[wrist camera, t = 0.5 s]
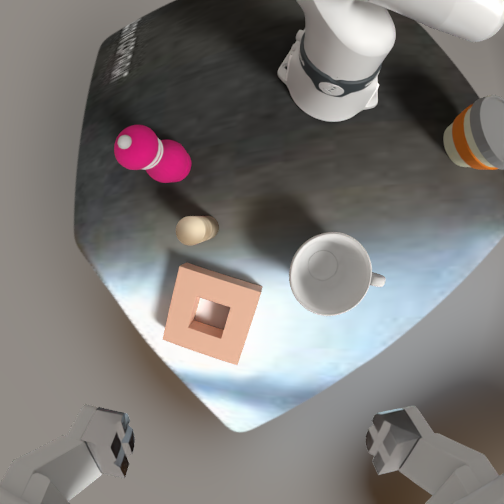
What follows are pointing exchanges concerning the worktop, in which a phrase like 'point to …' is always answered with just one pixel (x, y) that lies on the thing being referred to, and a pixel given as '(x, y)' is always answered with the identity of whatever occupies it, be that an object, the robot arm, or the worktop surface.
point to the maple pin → (196, 229)
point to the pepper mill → (152, 154)
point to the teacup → (331, 274)
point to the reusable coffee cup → (478, 135)
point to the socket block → (219, 291)
